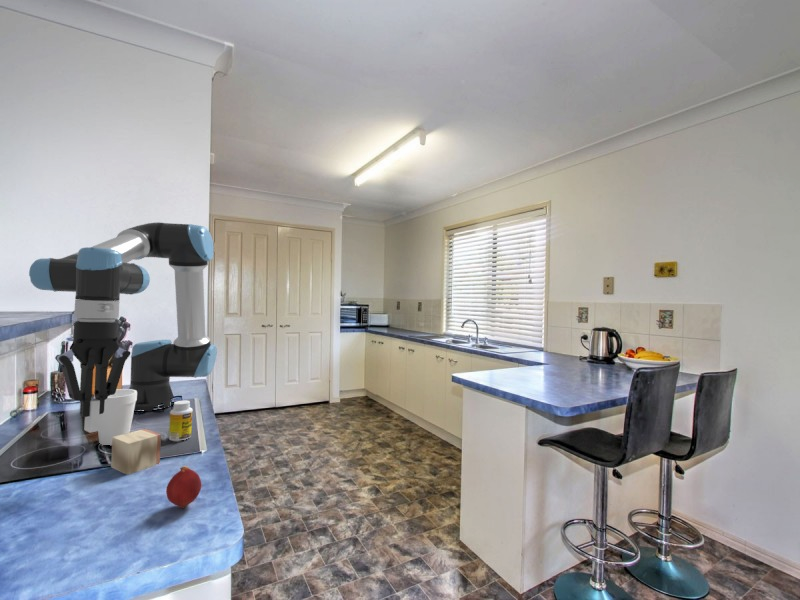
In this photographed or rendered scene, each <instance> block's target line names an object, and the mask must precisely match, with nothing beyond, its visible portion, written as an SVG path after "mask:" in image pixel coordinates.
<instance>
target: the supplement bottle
mask: <svg viewBox="0 0 800 600" xmlns="http://www.w3.org/2000/svg"><path fill="white" fill-rule="evenodd" d="M193 411H194V410H193V408H192V407H191V401H190V400H187V399H186V400H177V401H174V405H173V407H172V408H171V410H170V411H169V425H168V426H169V427H168V440H169V441H171V440H172V441H171V442H179V441H178V440H184V441H187V440H189V439H190V438H191V437H192V432H193V431H192V430H193V416H194V415H193ZM188 438H189V439H188ZM186 439H187V440H186Z"/></svg>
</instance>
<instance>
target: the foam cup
mask: <svg viewBox="0 0 800 600" xmlns="http://www.w3.org/2000/svg"><path fill="white" fill-rule="evenodd" d="M93 399H95V397H94V396H93ZM136 401H137V391H136V390H132V389H129V388H121V389H120V388H119V389H118V388H117V389H116V392H115V394H113V395H110V396H107V399H106V400H105V403H104V412H103V414H99V428H98V431H97V434H98V444H99V443H100V444H102V445H101V446H103V445H110V446H112V437H115V436H119V435H123V434H126V433H130V432H131V428H132V422H133V418H134V413H135V412H134V408H135V403H136ZM100 444H99V445H100Z"/></svg>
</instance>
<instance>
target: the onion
mask: <svg viewBox="0 0 800 600" xmlns="http://www.w3.org/2000/svg"><path fill="white" fill-rule="evenodd" d="M200 477H201V476H199V473H197V472H196V471H195V470H194V469H190V468H189V467H188V466H186V465H183V466H181V467H180V471H177V473H175V474H174V475H173V476H172V477H171V479H170V480H169V481H168V483H167V486H166V498H167V499H168V501H169V502H170V503H172V504H173V505H174V506H177V507H179V508H181V509H184V508H186V507H188V506H189V505H190V504H191V503H193V502H194V501H196V499H197V498H198V496H199V494H200V492H201V489H202V481H201V478H200Z"/></svg>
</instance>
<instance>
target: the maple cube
mask: <svg viewBox="0 0 800 600" xmlns="http://www.w3.org/2000/svg"><path fill="white" fill-rule="evenodd" d="M161 441H162V434H161V433H158V432H155V431H153V430H149V429H146V428H143V429H142V428H141V429H139V430H134V431H130V433H126V434H123V435H119V436H115V437H112V445H111V461H110V463H111V464H110V467H111V468H112V469H114V470H116V471H118V472H120V473H123V474H125V475H127V476H129V475H131V474H135V473H137V472H140V471H144V470H146V469H148V468H152V467H154V465H155V466H157V465H156V464H158V465H160V464H161ZM159 463H160V464H159Z"/></svg>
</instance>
